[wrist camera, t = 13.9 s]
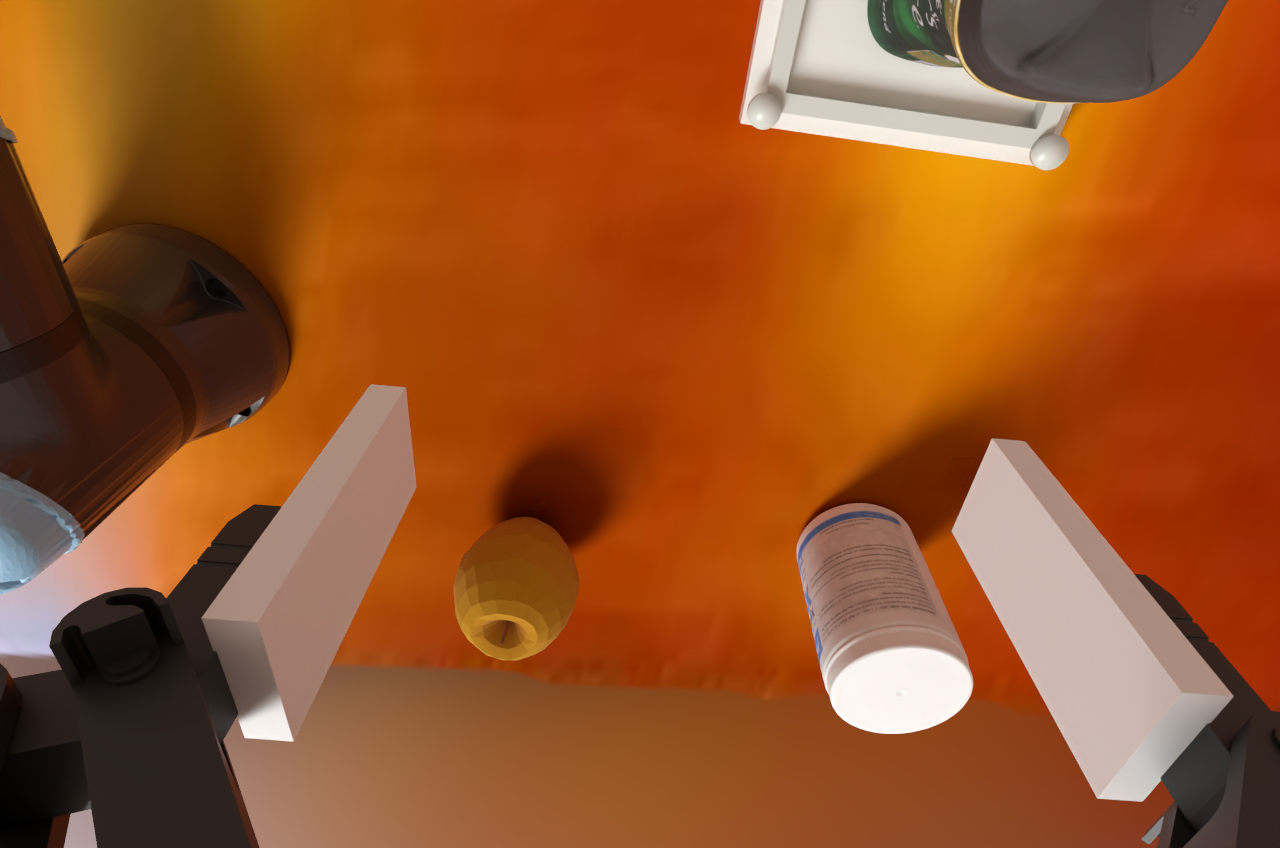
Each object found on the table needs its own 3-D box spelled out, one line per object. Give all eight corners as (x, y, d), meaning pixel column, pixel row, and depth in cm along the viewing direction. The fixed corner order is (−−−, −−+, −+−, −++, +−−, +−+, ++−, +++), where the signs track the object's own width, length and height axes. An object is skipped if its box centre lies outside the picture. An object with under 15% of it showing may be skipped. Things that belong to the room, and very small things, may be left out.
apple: (588, 580, 62) (570, 693, 52) (481, 574, 62) (443, 685, 52) (586, 494, 57) (565, 601, 47) (469, 488, 57) (424, 593, 47)
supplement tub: (771, 545, 58) (795, 694, 46) (857, 477, 54) (908, 621, 42) (849, 599, 61) (892, 754, 49) (936, 539, 57) (1007, 691, 45)
